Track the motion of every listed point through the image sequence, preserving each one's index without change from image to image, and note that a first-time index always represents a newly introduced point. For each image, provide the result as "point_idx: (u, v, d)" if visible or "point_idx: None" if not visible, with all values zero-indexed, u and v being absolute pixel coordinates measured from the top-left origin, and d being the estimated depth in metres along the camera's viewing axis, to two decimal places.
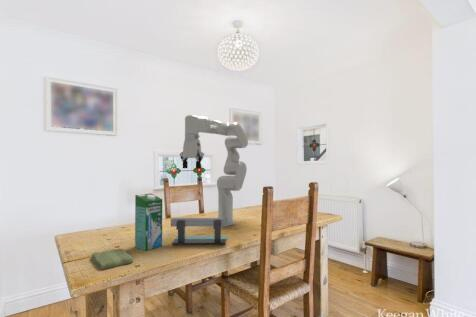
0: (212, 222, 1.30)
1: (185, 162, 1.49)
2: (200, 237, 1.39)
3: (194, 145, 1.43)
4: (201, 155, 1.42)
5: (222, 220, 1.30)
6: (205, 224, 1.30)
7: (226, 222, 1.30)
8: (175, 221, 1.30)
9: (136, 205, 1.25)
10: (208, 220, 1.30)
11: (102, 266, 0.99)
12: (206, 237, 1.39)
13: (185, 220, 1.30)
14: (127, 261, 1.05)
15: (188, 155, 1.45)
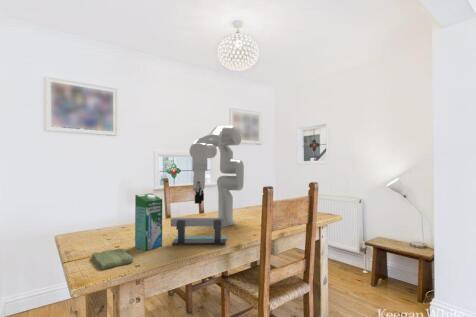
0: (212, 222, 1.30)
1: None
2: (200, 237, 1.39)
3: None
4: None
5: (222, 220, 1.30)
6: (205, 224, 1.30)
7: (226, 222, 1.30)
8: (175, 221, 1.30)
9: (136, 205, 1.25)
10: (208, 220, 1.30)
11: (102, 266, 0.99)
12: (206, 237, 1.39)
13: (185, 220, 1.30)
14: (127, 261, 1.05)
15: (203, 187, 1.31)
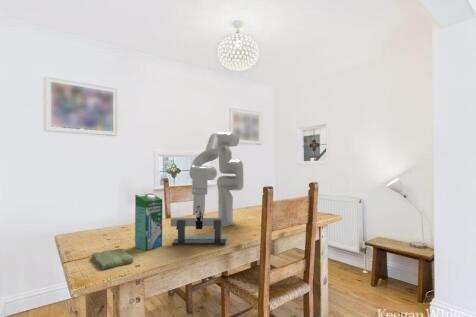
0: (212, 222, 1.30)
1: None
2: (200, 237, 1.39)
3: None
4: None
5: (222, 220, 1.30)
6: (205, 224, 1.30)
7: (226, 222, 1.30)
8: (175, 221, 1.30)
9: (136, 205, 1.25)
10: (208, 220, 1.30)
11: (103, 266, 0.99)
12: (206, 237, 1.39)
13: (185, 220, 1.30)
14: (128, 261, 1.05)
15: (203, 211, 1.31)
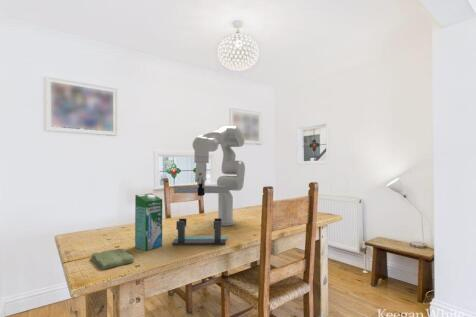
0: (213, 189, 1.38)
1: None
2: (200, 237, 1.39)
3: None
4: None
5: (222, 187, 1.38)
6: (206, 191, 1.37)
7: (226, 189, 1.38)
8: (178, 188, 1.37)
9: (136, 205, 1.25)
10: (209, 187, 1.38)
11: (104, 266, 0.99)
12: (206, 237, 1.39)
13: (188, 187, 1.37)
14: (128, 261, 1.05)
15: (205, 179, 1.39)
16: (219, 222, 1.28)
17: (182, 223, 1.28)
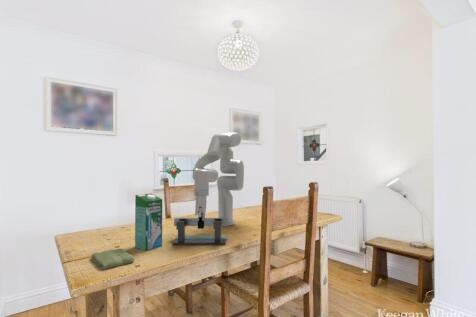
0: (213, 222, 1.38)
1: None
2: (200, 237, 1.39)
3: None
4: None
5: (222, 220, 1.38)
6: (206, 224, 1.37)
7: (226, 222, 1.38)
8: None
9: (136, 205, 1.25)
10: (209, 220, 1.38)
11: (104, 266, 0.99)
12: (206, 237, 1.39)
13: (187, 220, 1.37)
14: (129, 261, 1.05)
15: (205, 211, 1.39)
16: (219, 222, 1.28)
17: (182, 223, 1.28)
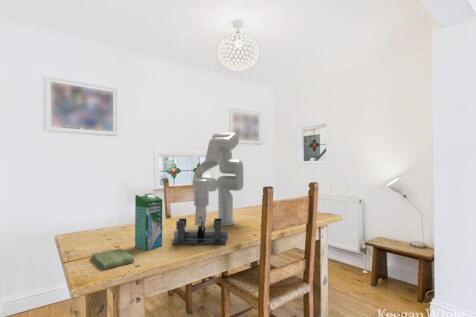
0: (213, 234, 1.38)
1: None
2: None
3: None
4: None
5: (222, 232, 1.38)
6: (206, 236, 1.37)
7: (226, 234, 1.38)
8: None
9: (136, 205, 1.25)
10: (209, 232, 1.38)
11: (104, 266, 0.99)
12: None
13: (188, 232, 1.37)
14: (129, 261, 1.05)
15: (205, 221, 1.39)
16: (219, 222, 1.28)
17: (182, 223, 1.28)
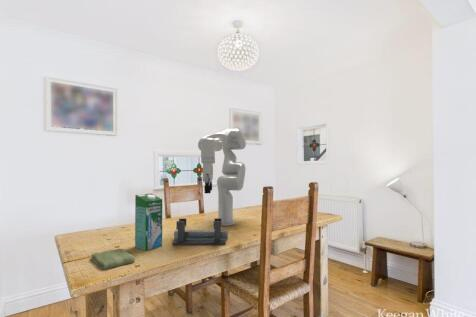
0: (213, 234, 1.38)
1: None
2: None
3: None
4: None
5: (222, 232, 1.38)
6: (206, 236, 1.37)
7: (226, 234, 1.38)
8: None
9: (136, 205, 1.25)
10: (209, 232, 1.38)
11: (105, 266, 0.99)
12: None
13: (188, 232, 1.37)
14: (129, 260, 1.05)
15: (212, 178, 1.44)
16: (219, 222, 1.28)
17: (182, 223, 1.28)
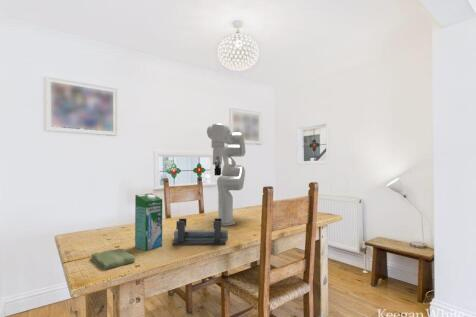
0: (213, 234, 1.38)
1: None
2: None
3: None
4: None
5: (222, 232, 1.38)
6: (206, 236, 1.37)
7: (226, 234, 1.38)
8: None
9: (136, 205, 1.25)
10: (209, 232, 1.38)
11: (105, 266, 0.99)
12: None
13: (188, 232, 1.37)
14: (130, 260, 1.05)
15: (221, 162, 1.52)
16: (219, 222, 1.28)
17: (182, 223, 1.28)
